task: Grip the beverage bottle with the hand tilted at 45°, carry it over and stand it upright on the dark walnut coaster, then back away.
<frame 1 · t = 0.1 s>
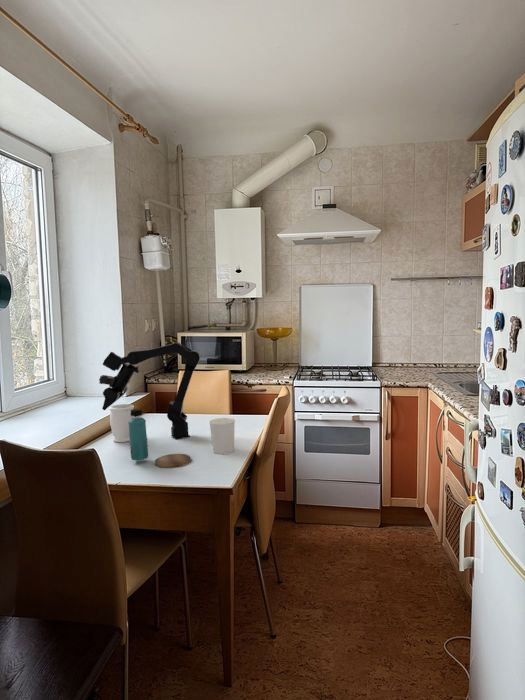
hand: (106, 407, 203), 15 cm above the table, tool tilted 35°, fingers open, 9 cm apart
beverage bottle: (139, 462, 175), on the table
walnut coaster: (172, 461, 173), on the table
jar: (123, 440, 205), on the table
white cup: (223, 451, 184), on the table
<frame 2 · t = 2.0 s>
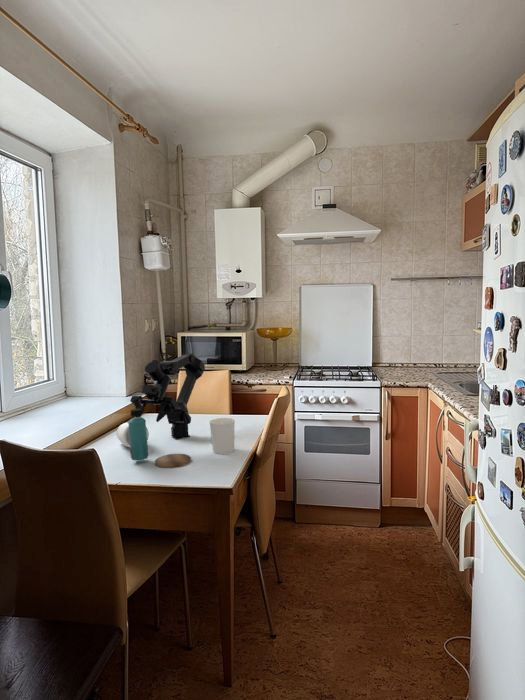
hand: (146, 420, 181), 14 cm above the table, tool tilted 45°, fingers open, 9 cm apart
jar: (126, 432, 202), point 4 cm above the table
everything else where it was.
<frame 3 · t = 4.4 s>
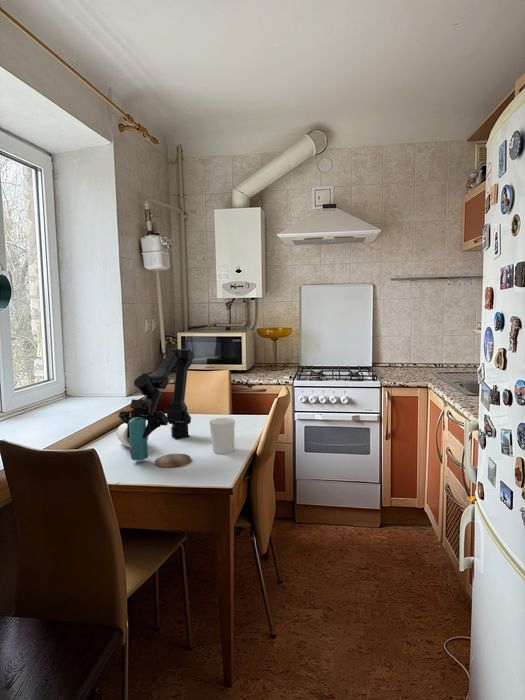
hand: (135, 437, 173), 10 cm above the table, tool tilted 45°, fingers closed on beverage bottle, 6 cm apart
beverage bottle: (139, 462, 175), on the table, touching gripper
everything else where it was.
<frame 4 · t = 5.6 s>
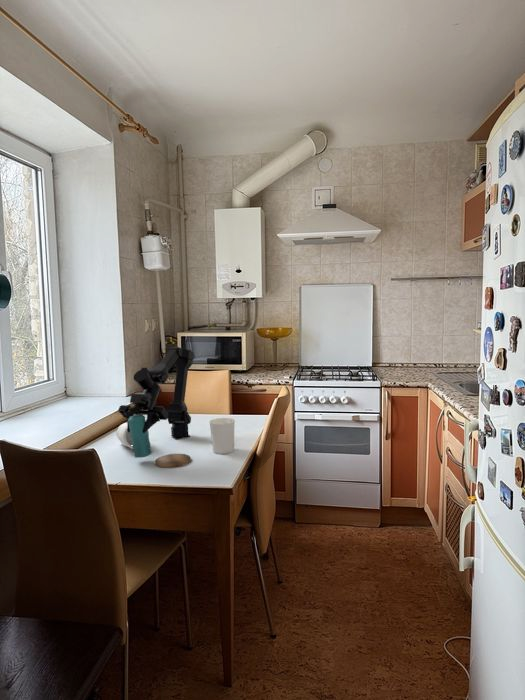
hand: (135, 432, 172), 12 cm above the table, tool tilted 45°, fingers closed on beverage bottle, 6 cm apart
beverage bottle: (143, 459, 175), point 1 cm above the table, touching gripper
everything else where it was.
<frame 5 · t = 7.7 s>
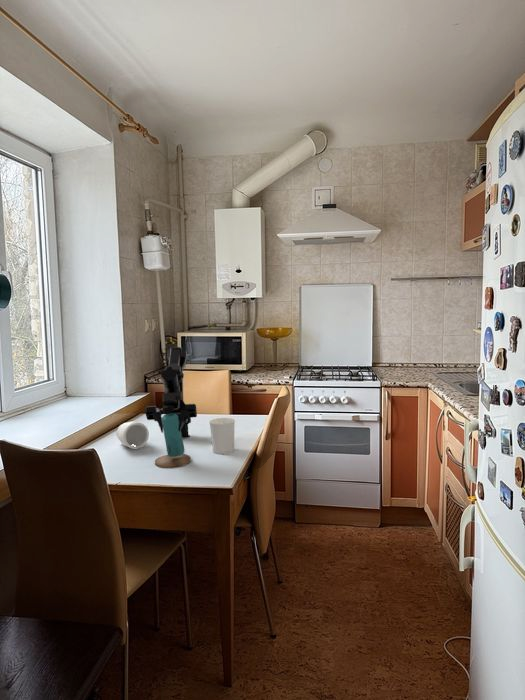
hand: (170, 431, 171), 12 cm above the table, tool tilted 45°, fingers closed on beverage bottle, 6 cm apart
beverage bottle: (176, 458, 174), point 1 cm above the table, touching gripper, walnut coaster
everything else where it was.
when the fingers open (12 cm above the table, at t = 8.2 s): beverage bottle stays where it is, resting on walnut coaster.
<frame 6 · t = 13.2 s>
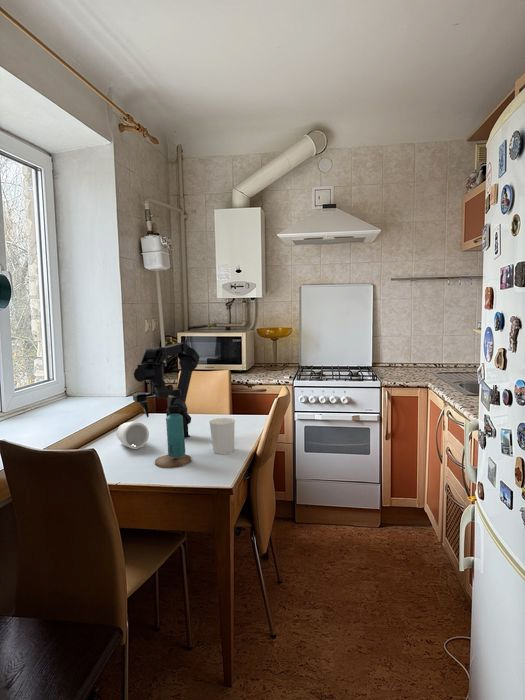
hand: (158, 415, 192), 13 cm above the table, tool pointing down, fingers open, 9 cm apart
beverage bottle: (177, 459, 174), point 1 cm above the table, touching walnut coaster
everything else where it was.
at the end: beverage bottle 1.5 cm off-centre on the walnut coaster, point 0.8 cm above the walnut coaster's base; beverage bottle tilted 0°; the gripper is holding nothing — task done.
